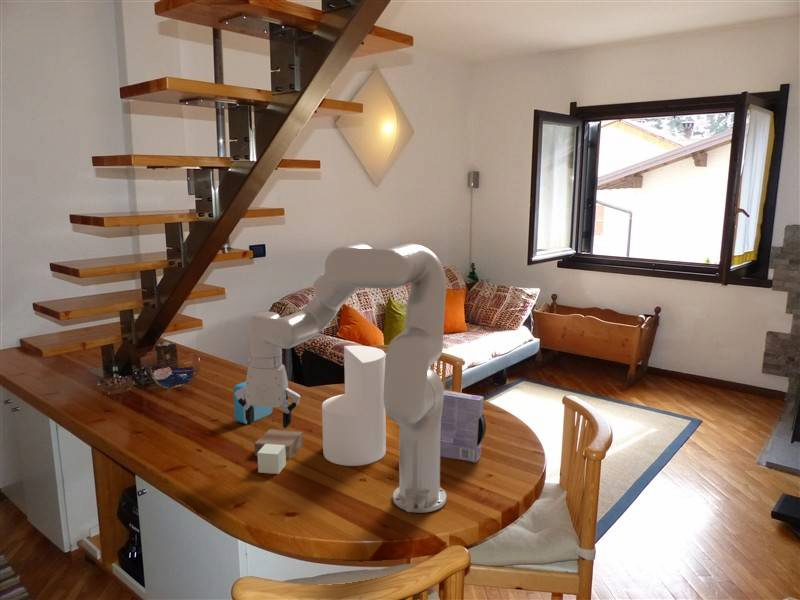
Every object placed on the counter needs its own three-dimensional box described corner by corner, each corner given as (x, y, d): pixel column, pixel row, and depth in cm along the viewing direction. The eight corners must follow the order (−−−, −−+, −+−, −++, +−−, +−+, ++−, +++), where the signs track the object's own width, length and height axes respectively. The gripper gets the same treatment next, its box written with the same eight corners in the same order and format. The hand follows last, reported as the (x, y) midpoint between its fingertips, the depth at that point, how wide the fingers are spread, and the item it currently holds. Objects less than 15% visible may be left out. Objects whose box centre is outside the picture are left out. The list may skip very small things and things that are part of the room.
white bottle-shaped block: (374, 434, 179) (373, 343, 174) (394, 459, 163) (394, 359, 158) (316, 443, 173) (313, 349, 168) (332, 470, 157) (329, 366, 152)
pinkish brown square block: (289, 460, 164) (289, 446, 163) (255, 456, 166) (254, 443, 165) (303, 445, 173) (302, 431, 172) (270, 441, 175) (270, 428, 175)
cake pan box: (485, 456, 165) (487, 394, 161) (480, 464, 160) (482, 400, 157) (419, 445, 172) (419, 385, 169) (413, 452, 167) (413, 391, 164)
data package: (263, 410, 198) (261, 375, 196) (273, 413, 196) (271, 378, 194) (234, 422, 189) (232, 385, 186) (244, 425, 186) (242, 388, 184)
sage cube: (278, 474, 155) (277, 454, 154) (258, 472, 156) (257, 452, 155) (286, 464, 161) (285, 445, 160) (266, 463, 162) (265, 443, 160)
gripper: (228, 363, 151) (230, 427, 154) (295, 367, 148) (296, 433, 151) (240, 354, 158) (242, 416, 161) (304, 358, 155) (305, 421, 159)
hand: (268, 424), depth 156 cm, fingers open, 9 cm apart
